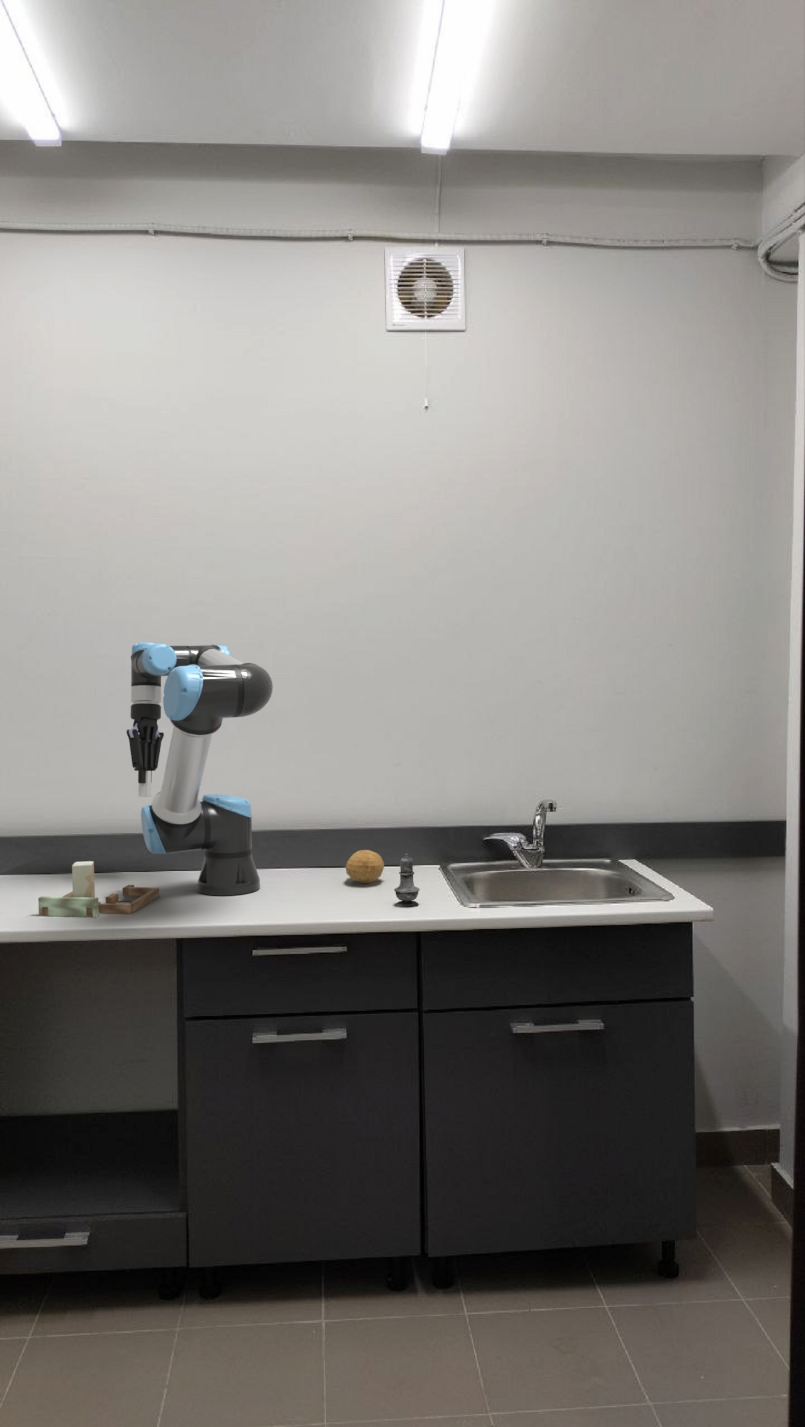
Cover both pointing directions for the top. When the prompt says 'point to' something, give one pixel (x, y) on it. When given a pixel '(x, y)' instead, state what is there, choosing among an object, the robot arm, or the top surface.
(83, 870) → the box
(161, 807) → the robot arm
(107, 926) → the top surface
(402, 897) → the salt shaker
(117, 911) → the brown green flat frame
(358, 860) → the potato
